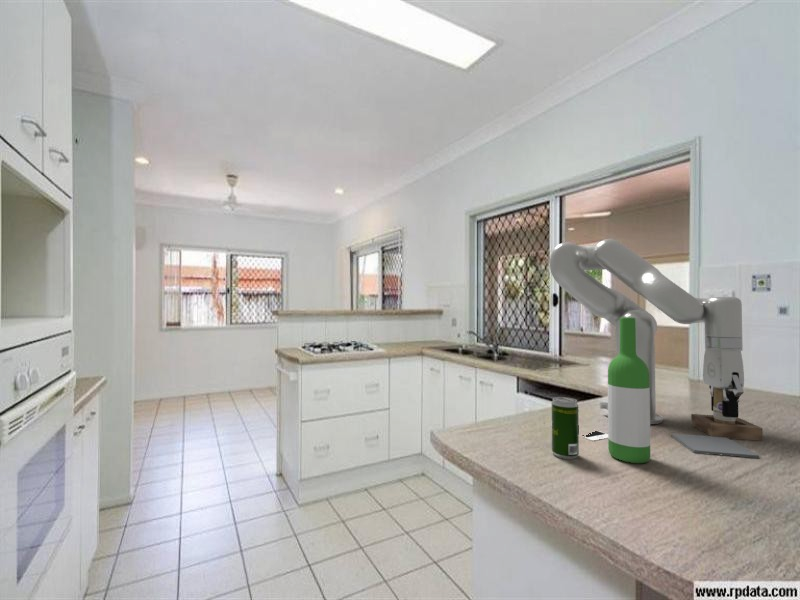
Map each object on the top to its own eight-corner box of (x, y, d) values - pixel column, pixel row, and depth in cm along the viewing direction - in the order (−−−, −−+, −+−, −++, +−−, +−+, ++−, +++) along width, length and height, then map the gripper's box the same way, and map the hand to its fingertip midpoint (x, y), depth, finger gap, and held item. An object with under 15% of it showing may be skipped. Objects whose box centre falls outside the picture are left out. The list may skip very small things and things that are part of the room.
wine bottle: (611, 461, 79) (609, 317, 80) (605, 449, 86) (604, 317, 87) (654, 467, 76) (653, 318, 77) (645, 454, 84) (644, 317, 84)
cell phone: (593, 443, 92) (593, 440, 92) (542, 424, 106) (542, 422, 106) (615, 438, 95) (614, 436, 95) (563, 421, 109) (563, 419, 109)
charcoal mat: (694, 452, 84) (694, 450, 84) (670, 435, 96) (670, 433, 96) (759, 458, 81) (759, 455, 81) (726, 440, 93) (726, 437, 93)
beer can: (584, 457, 81) (583, 401, 82) (566, 461, 79) (566, 403, 79) (563, 449, 86) (563, 395, 87) (546, 452, 84) (546, 398, 84)
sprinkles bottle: (713, 432, 99) (712, 380, 99) (713, 428, 102) (712, 378, 103) (736, 436, 96) (735, 382, 96) (736, 432, 99) (735, 380, 100)
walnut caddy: (712, 436, 95) (711, 424, 95) (691, 424, 105) (691, 413, 105) (762, 440, 93) (762, 428, 93) (736, 427, 103) (736, 416, 103)
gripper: (690, 341, 109) (691, 405, 108) (724, 346, 92) (726, 422, 92) (721, 341, 107) (723, 407, 106) (762, 347, 90) (763, 424, 90)
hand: (724, 413), depth 99 cm, fingers closed on sprinkles bottle, 4 cm apart
